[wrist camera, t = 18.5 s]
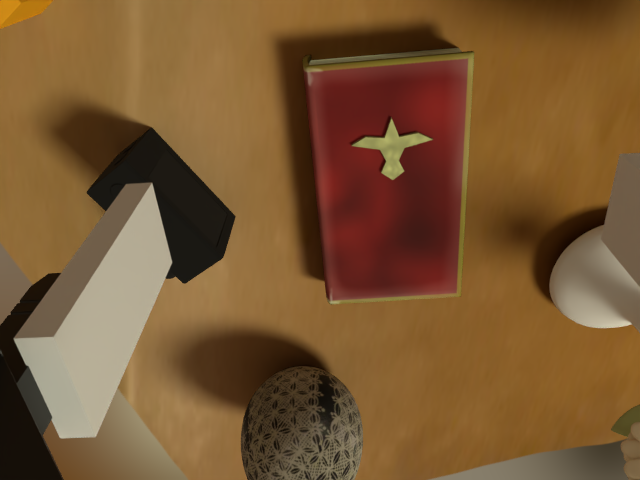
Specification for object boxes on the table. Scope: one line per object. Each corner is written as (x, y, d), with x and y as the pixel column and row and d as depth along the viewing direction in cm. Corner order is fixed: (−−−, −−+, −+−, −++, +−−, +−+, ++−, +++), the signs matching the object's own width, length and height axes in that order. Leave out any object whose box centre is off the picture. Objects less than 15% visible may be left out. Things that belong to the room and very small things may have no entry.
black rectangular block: (105, 162, 47) (72, 200, 41) (150, 125, 45) (123, 159, 39) (191, 247, 51) (173, 292, 45) (235, 216, 49) (222, 259, 43)
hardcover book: (325, 279, 53) (325, 306, 49) (303, 54, 42) (301, 68, 39) (452, 271, 52) (461, 298, 49) (462, 40, 41) (475, 53, 38)
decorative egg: (234, 398, 61) (209, 530, 48) (276, 324, 55) (260, 451, 42) (330, 430, 63) (330, 564, 50) (379, 362, 58) (393, 493, 45)
